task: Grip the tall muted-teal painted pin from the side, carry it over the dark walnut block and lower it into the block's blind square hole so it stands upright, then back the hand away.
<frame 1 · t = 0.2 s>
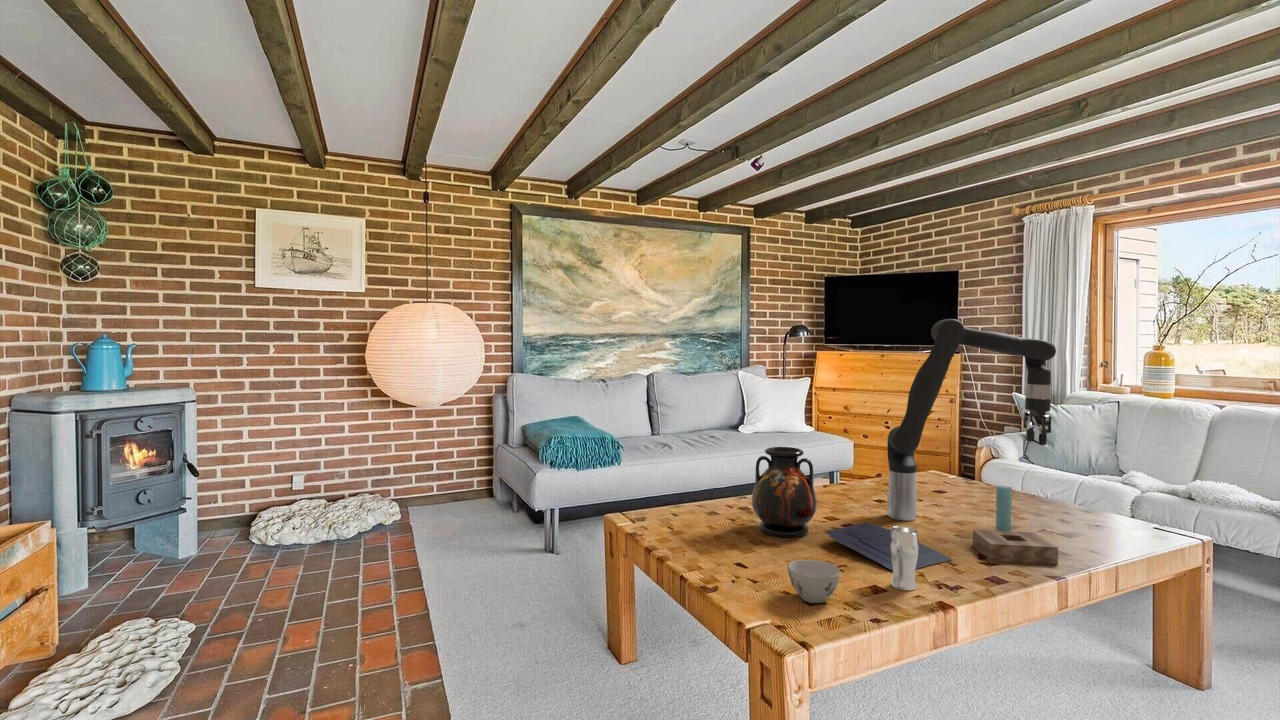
hand: (1036, 443, 214), 29 cm above the table, fingers open, 8 cm apart
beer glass: (903, 587, 159), on the table
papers: (884, 553, 186), on the table
walnut block: (1013, 554, 183), on the table
teacup: (810, 597, 153), on the table
teal pin: (1003, 534, 202), on the table
amphora vase: (783, 531, 207), on the table
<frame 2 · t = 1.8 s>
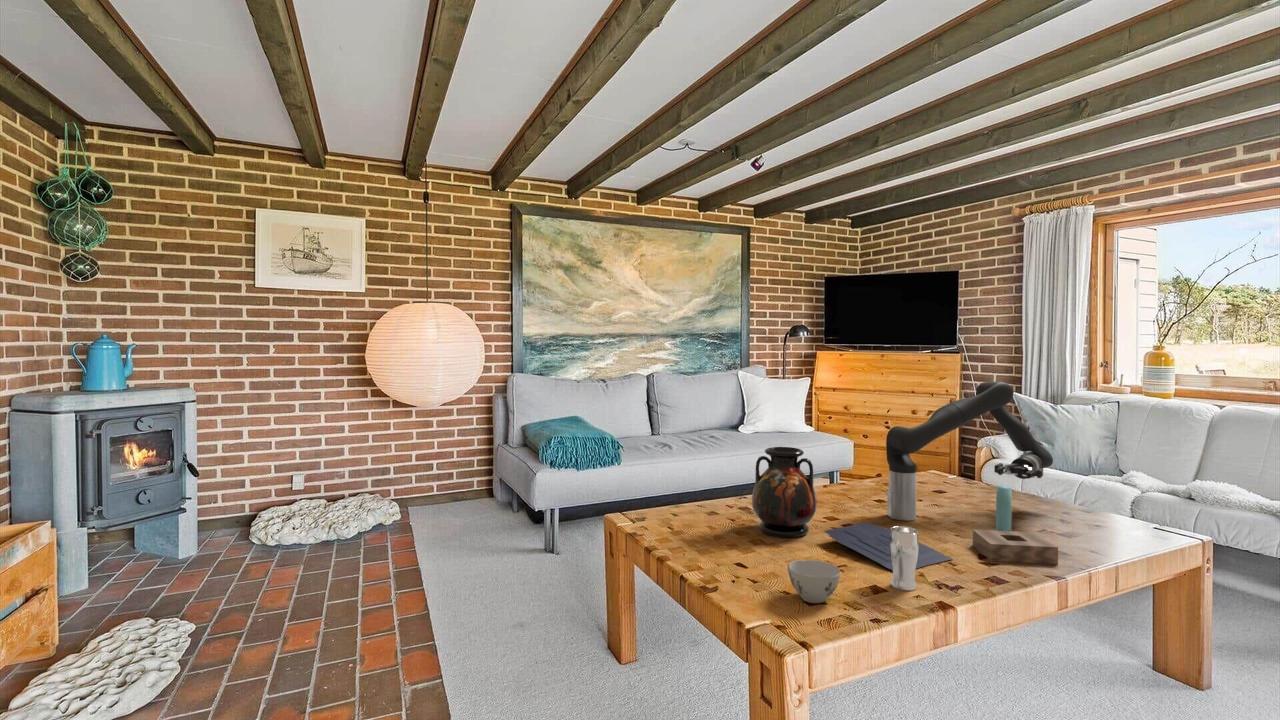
hand: (1013, 473, 210), 19 cm above the table, fingers open, 8 cm apart
nothing on the table moved.
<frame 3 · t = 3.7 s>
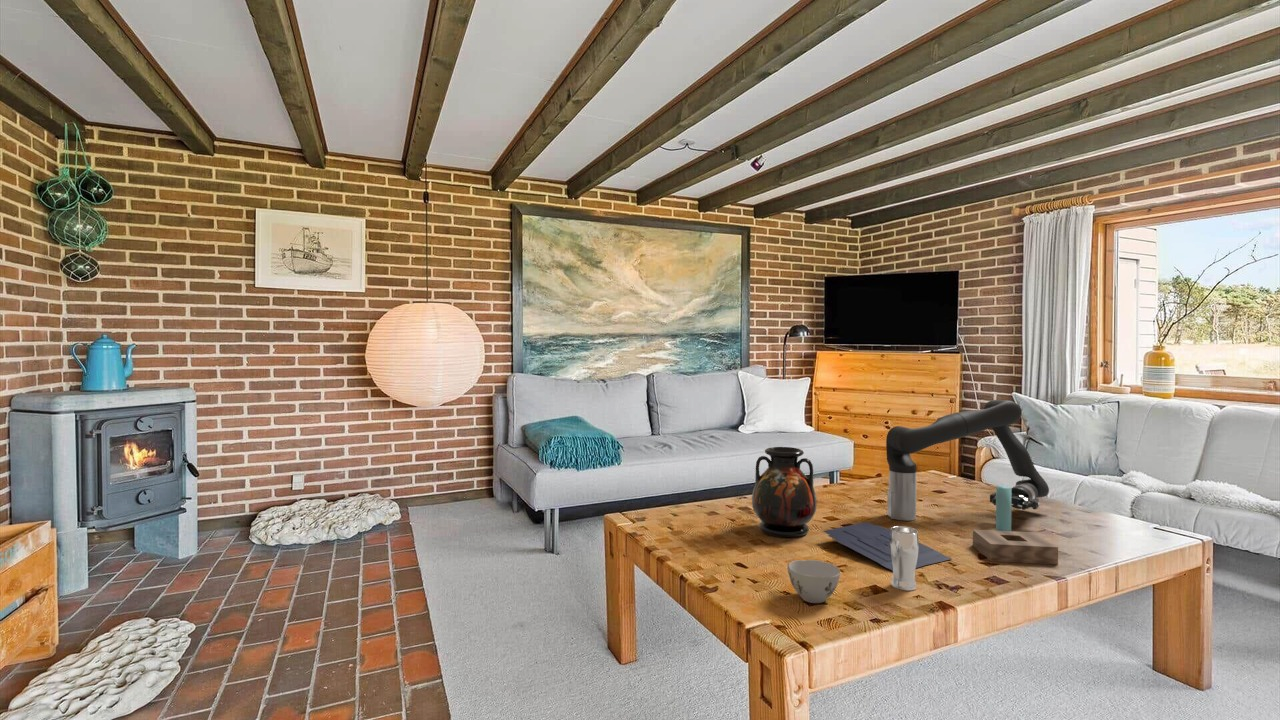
hand: (1008, 504, 207), 9 cm above the table, fingers open, 8 cm apart
nothing on the table moved.
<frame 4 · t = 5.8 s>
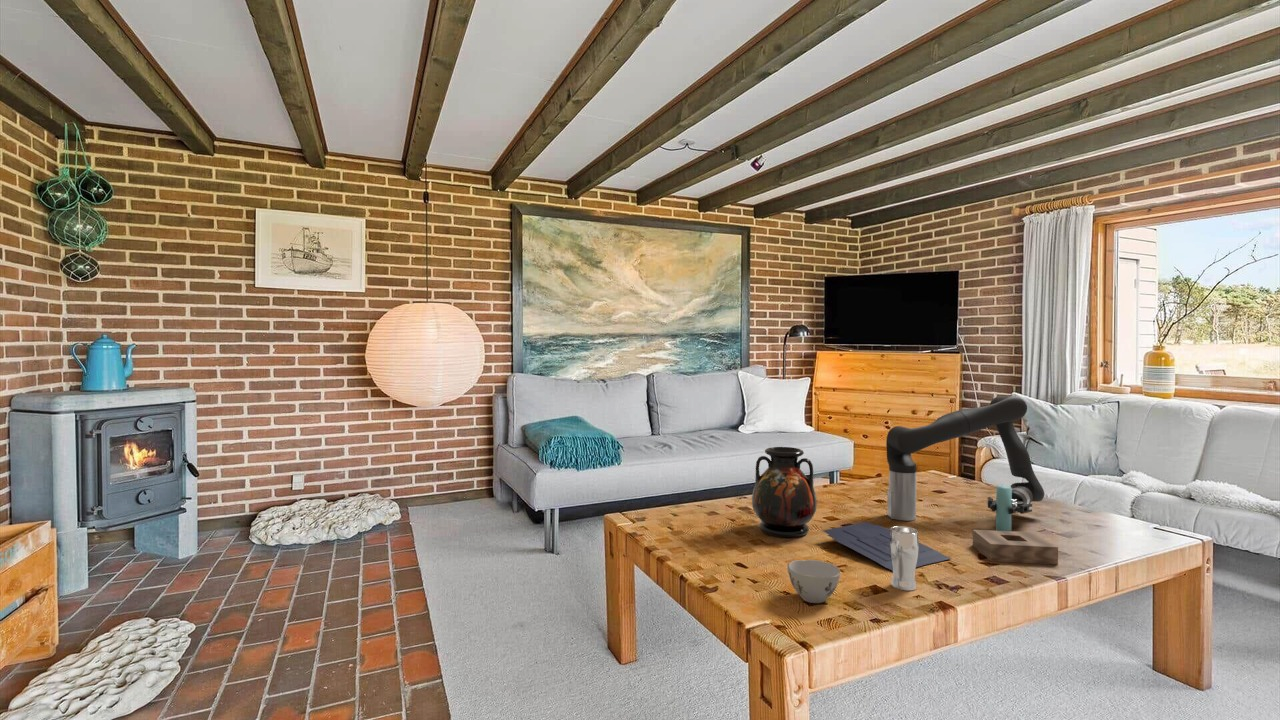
hand: (1001, 509, 200), 9 cm above the table, fingers closed on teal pin, 4 cm apart
teal pin: (1003, 534, 202), on the table, touching gripper
everything else where it was.
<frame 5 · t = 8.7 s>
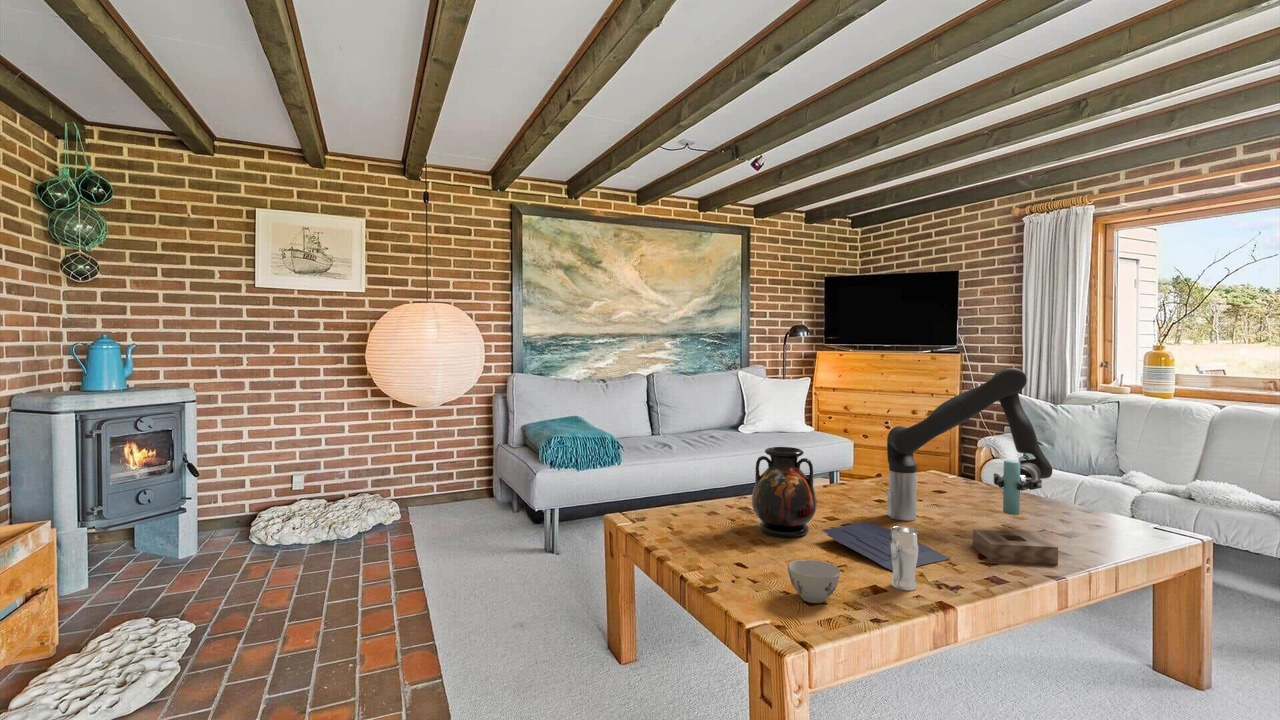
hand: (1009, 485, 187), 20 cm above the table, fingers closed on teal pin, 4 cm apart
teal pin: (1011, 512, 190), point 11 cm above the table, touching gripper
when the fingers open (11 cm above the table, at t = 11.8 s): teal pin drops 1 cm, resting on walnut block.
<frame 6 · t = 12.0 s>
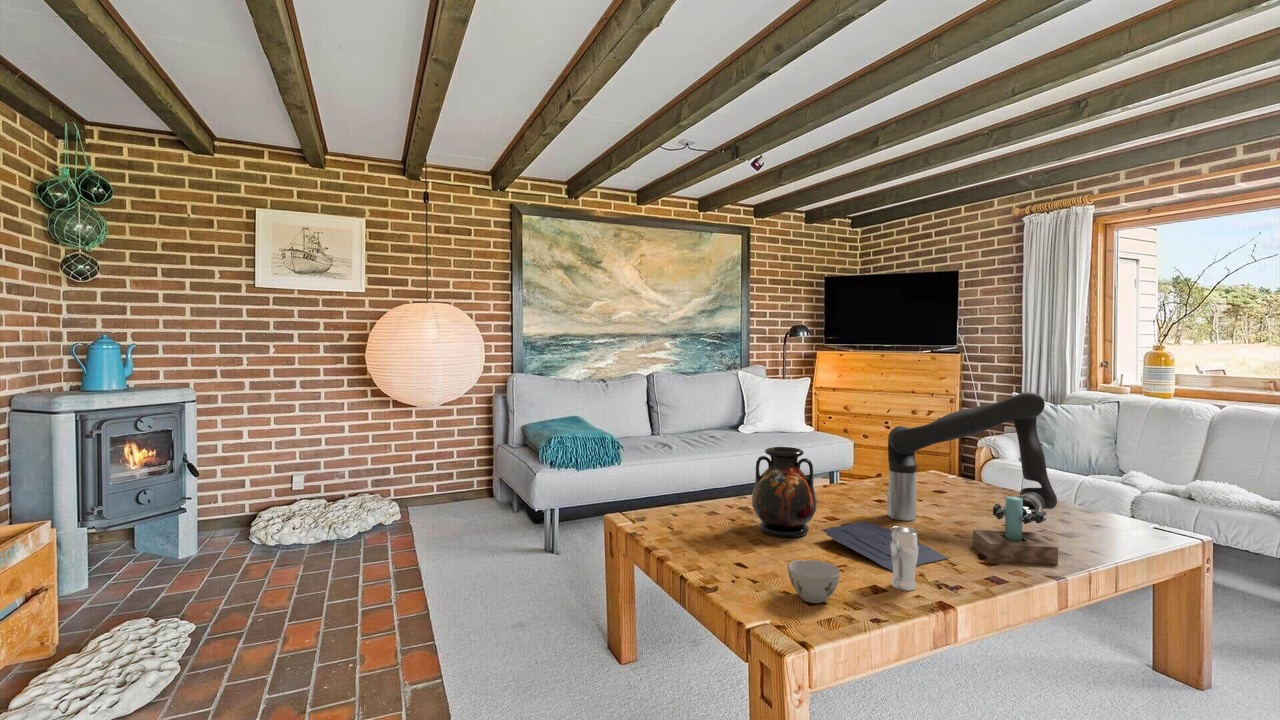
hand: (1011, 518, 181), 12 cm above the table, fingers open, 6 cm apart
teal pin: (1013, 551, 183), point 1 cm above the table, touching walnut block
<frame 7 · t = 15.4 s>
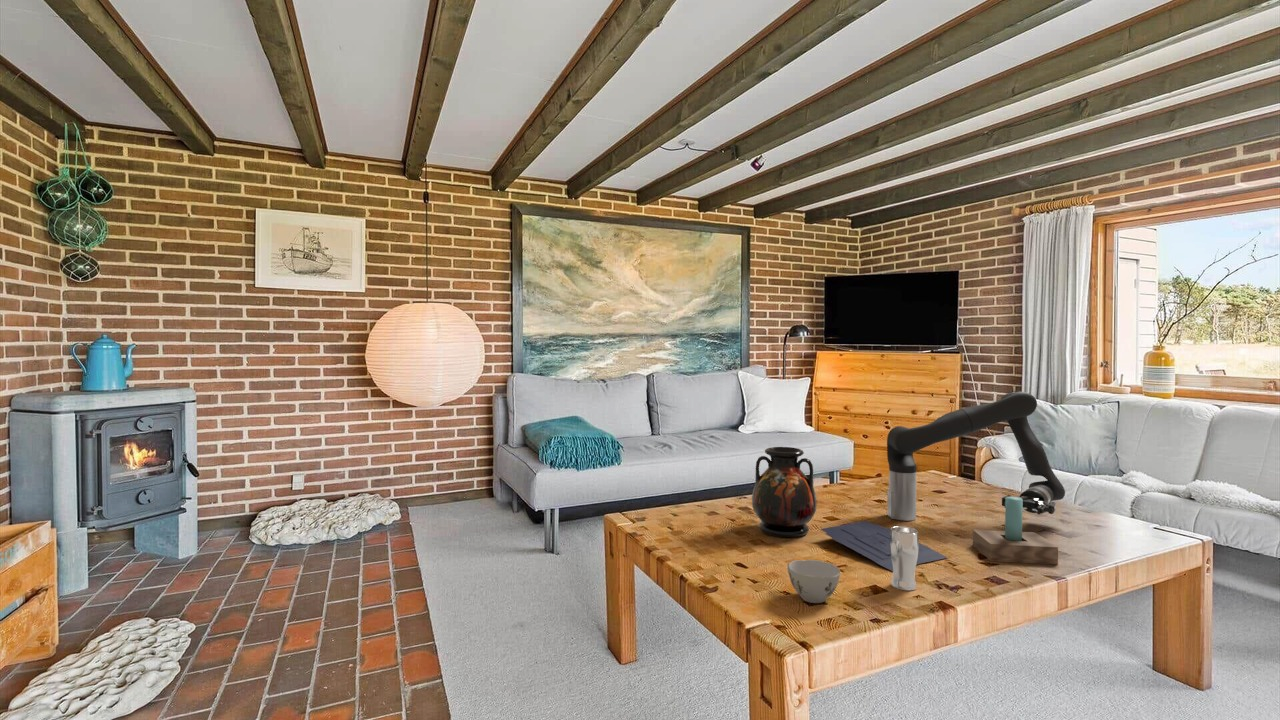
hand: (1022, 508, 191), 12 cm above the table, fingers open, 8 cm apart
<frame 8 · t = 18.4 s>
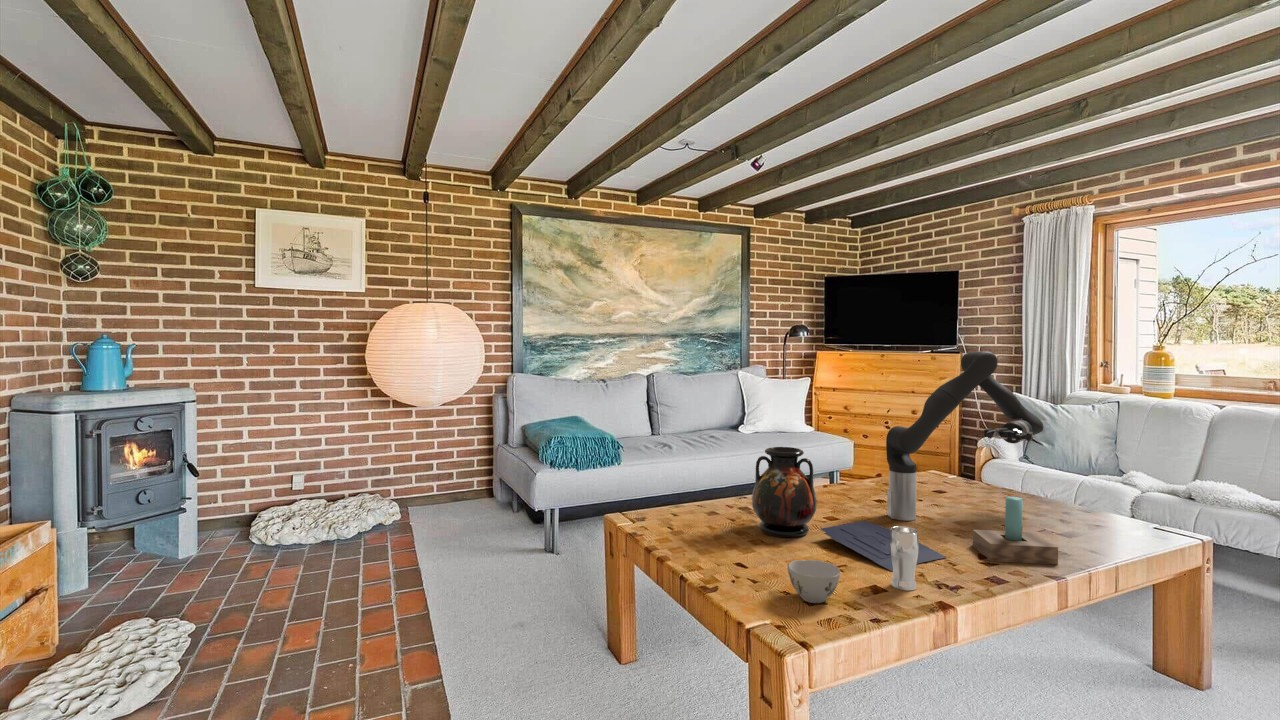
hand: (1002, 436, 208), 32 cm above the table, fingers open, 8 cm apart
at the end: teal pin 0.1 cm off-centre on the walnut block, point 1.0 cm above the walnut block's base; teal pin tilted 0°; the gripper is holding nothing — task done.
